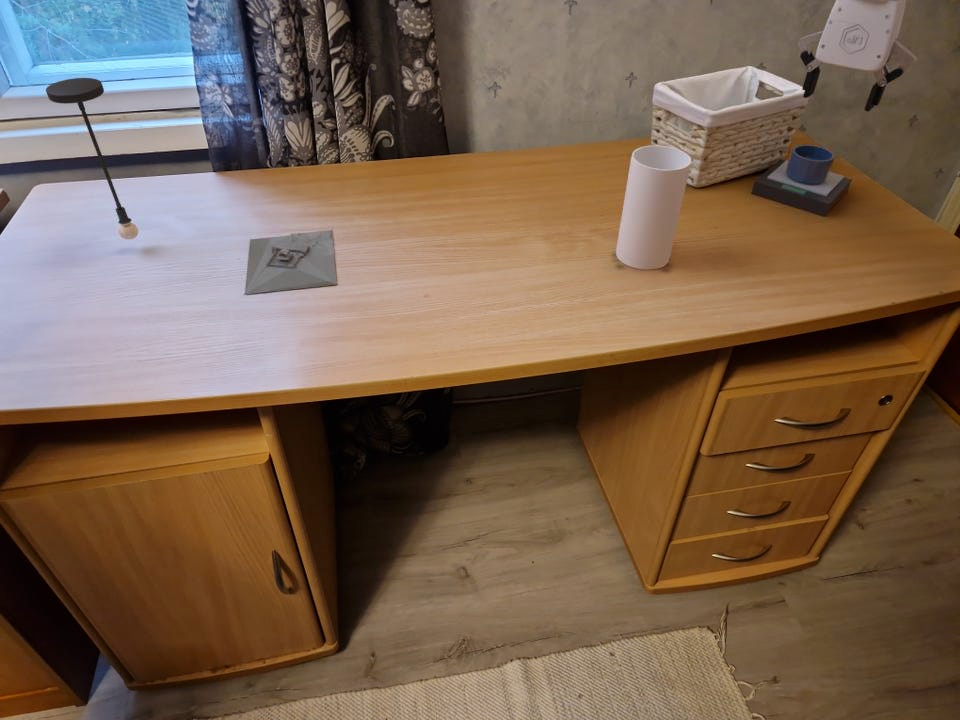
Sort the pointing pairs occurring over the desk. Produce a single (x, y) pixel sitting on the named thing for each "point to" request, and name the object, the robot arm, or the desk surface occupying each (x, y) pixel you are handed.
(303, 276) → the grey faceted rectangular plate
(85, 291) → the desk surface
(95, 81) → the light fixture
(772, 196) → the scale
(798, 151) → the bowl
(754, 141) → the basket
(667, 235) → the cup
